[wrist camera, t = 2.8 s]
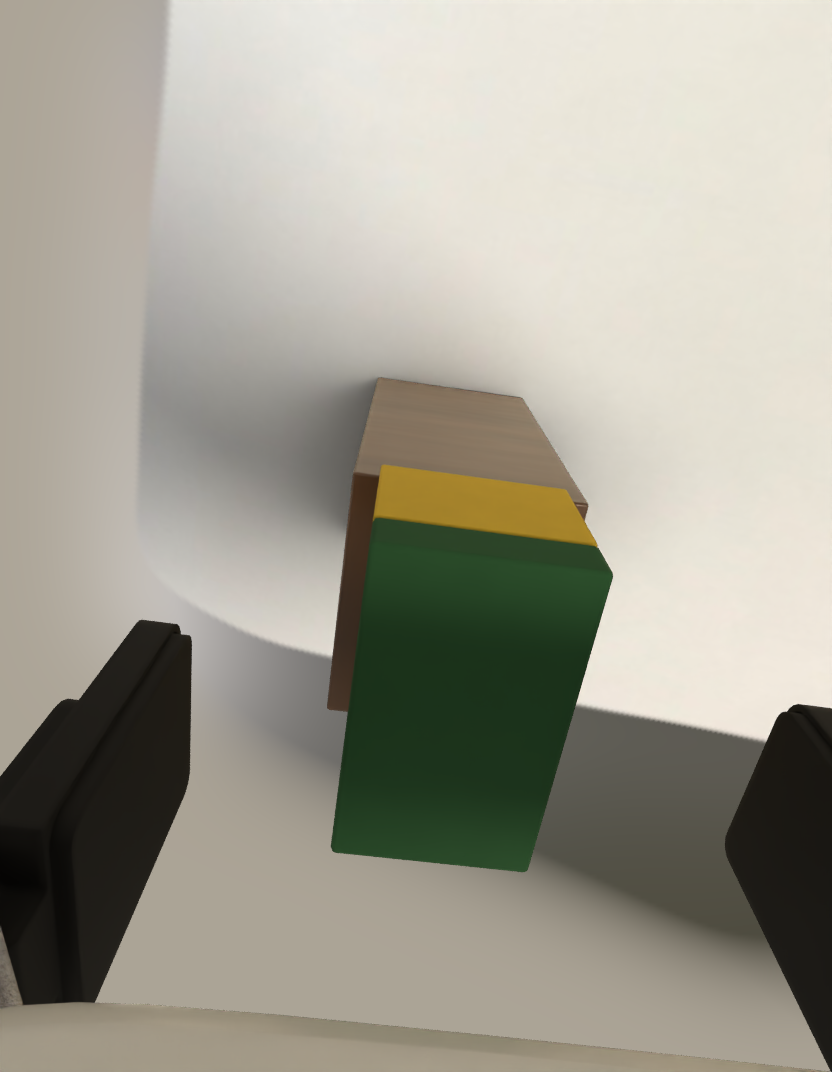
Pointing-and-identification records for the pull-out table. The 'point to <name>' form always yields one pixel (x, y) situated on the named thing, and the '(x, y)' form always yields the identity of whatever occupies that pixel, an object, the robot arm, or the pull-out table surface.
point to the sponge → (465, 667)
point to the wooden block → (442, 446)
